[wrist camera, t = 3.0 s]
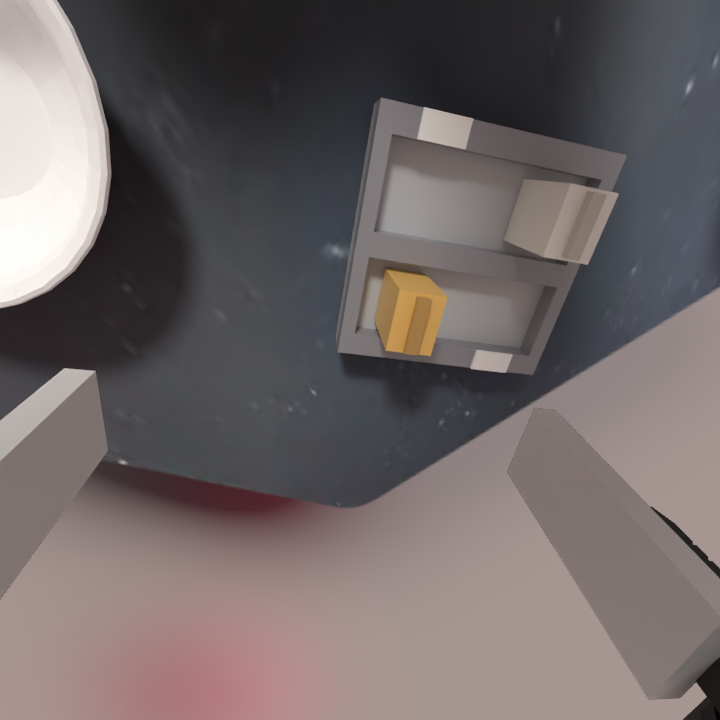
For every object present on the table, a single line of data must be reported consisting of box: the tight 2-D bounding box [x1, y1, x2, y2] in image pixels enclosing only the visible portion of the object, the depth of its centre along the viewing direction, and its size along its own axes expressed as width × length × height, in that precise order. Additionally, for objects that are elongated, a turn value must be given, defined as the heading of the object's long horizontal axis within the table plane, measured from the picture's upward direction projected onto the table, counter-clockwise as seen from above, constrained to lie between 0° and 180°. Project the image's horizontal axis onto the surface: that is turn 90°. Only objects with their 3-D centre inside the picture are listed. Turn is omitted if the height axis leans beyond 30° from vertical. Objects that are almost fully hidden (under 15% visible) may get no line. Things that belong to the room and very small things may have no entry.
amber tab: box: [374, 267, 448, 356], centre depth 26 cm, size 3×4×6 cm
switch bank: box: [336, 98, 627, 375], centre depth 28 cm, size 16×16×3 cm
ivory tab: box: [504, 179, 619, 265], centre depth 24 cm, size 3×4×6 cm
